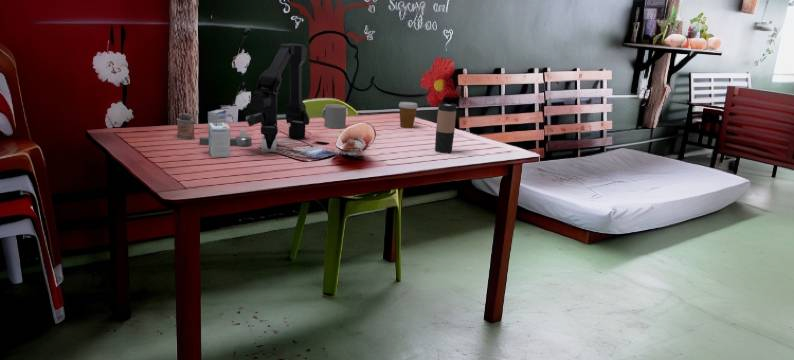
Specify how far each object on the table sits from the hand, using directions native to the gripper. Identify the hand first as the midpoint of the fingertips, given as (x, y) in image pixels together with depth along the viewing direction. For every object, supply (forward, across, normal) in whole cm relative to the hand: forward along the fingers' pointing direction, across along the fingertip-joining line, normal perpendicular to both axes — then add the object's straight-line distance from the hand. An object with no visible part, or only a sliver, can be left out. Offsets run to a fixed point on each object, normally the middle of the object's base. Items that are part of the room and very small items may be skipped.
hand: (268, 147), depth 234 cm
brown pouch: (+2, -18, -33) cm, 38 cm away
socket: (+1, 0, 0) cm, 1 cm away
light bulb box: (+2, +7, -18) cm, 19 cm away
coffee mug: (+2, -52, +30) cm, 60 cm away
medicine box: (+2, -34, -22) cm, 41 cm away
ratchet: (+1, -8, -17) cm, 19 cm away
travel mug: (+1, -5, +72) cm, 72 cm away
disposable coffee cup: (+1, -55, +67) cm, 87 cm away
